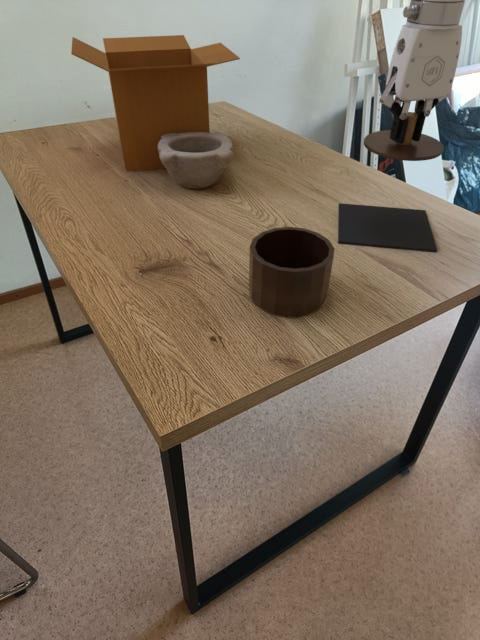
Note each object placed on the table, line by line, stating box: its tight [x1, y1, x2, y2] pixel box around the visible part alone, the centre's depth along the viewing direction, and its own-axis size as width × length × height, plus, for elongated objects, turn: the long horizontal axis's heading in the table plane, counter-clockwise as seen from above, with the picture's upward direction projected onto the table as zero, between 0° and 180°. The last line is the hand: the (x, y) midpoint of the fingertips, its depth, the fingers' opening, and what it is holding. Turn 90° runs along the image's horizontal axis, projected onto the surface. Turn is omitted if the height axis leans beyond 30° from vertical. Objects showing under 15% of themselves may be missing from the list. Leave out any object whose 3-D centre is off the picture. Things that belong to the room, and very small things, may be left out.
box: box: [70, 34, 241, 172], centre depth 112 cm, size 36×40×26 cm
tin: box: [248, 226, 335, 318], centre depth 71 cm, size 13×13×8 cm
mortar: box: [158, 131, 235, 190], centre depth 104 cm, size 17×17×9 cm
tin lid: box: [363, 111, 445, 162], centre depth 78 cm, size 14×14×6 cm
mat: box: [337, 203, 438, 253], centre depth 90 cm, size 18×16×1 cm
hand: (404, 139), depth 79 cm, fingers closed on tin lid, 2 cm apart
